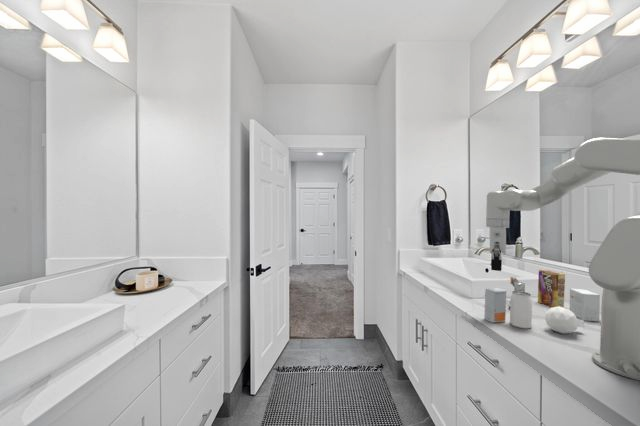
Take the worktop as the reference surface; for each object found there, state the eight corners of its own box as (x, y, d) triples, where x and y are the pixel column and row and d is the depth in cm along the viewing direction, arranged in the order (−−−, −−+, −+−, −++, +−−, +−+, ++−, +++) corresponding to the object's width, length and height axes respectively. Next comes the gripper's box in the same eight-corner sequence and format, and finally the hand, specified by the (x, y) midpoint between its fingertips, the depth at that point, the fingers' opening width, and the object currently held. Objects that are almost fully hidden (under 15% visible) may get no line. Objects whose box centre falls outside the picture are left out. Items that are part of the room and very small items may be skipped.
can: (506, 323, 105) (506, 291, 105) (516, 320, 107) (517, 289, 107) (524, 330, 99) (525, 296, 99) (535, 327, 102) (536, 294, 101)
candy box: (564, 308, 122) (565, 273, 122) (557, 309, 121) (558, 274, 121) (544, 301, 131) (545, 269, 131) (537, 302, 130) (538, 269, 130)
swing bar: (515, 292, 118) (515, 283, 118) (508, 283, 133) (508, 275, 133) (525, 293, 117) (525, 284, 117) (517, 284, 131) (517, 276, 131)
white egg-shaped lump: (562, 334, 92) (595, 338, 93) (558, 305, 95) (590, 309, 96) (539, 331, 100) (570, 334, 101) (536, 304, 103) (566, 308, 104)
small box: (599, 322, 107) (600, 295, 107) (582, 320, 109) (583, 293, 108) (584, 314, 115) (585, 289, 115) (568, 313, 116) (569, 288, 116)
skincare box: (493, 323, 105) (494, 291, 104) (484, 319, 109) (484, 288, 109) (506, 321, 106) (507, 290, 106) (496, 317, 110) (497, 287, 110)
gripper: (510, 224, 98) (508, 273, 98) (508, 223, 112) (507, 265, 112) (485, 224, 102) (484, 270, 102) (486, 222, 116) (485, 263, 117)
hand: (496, 268), depth 107 cm, fingers open, 9 cm apart
